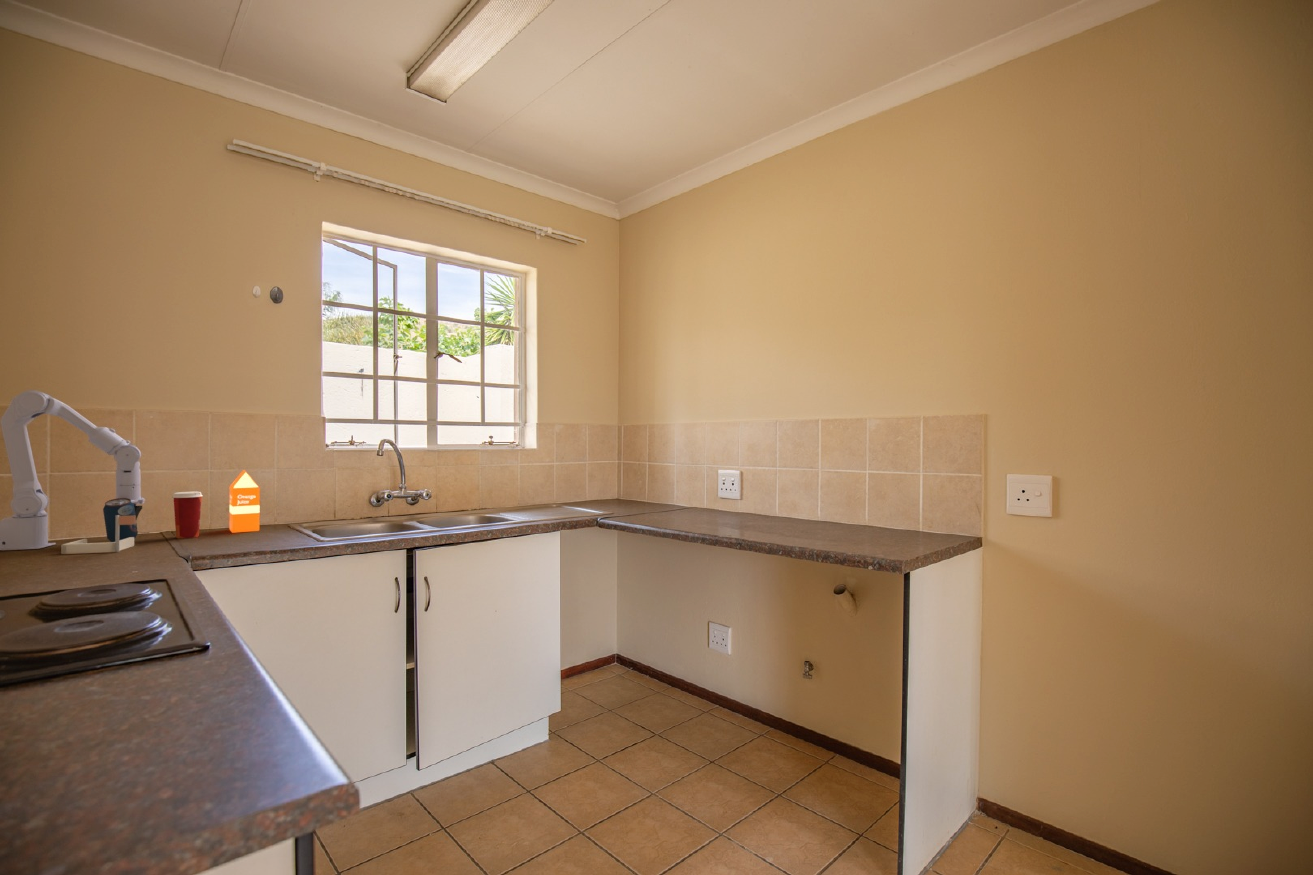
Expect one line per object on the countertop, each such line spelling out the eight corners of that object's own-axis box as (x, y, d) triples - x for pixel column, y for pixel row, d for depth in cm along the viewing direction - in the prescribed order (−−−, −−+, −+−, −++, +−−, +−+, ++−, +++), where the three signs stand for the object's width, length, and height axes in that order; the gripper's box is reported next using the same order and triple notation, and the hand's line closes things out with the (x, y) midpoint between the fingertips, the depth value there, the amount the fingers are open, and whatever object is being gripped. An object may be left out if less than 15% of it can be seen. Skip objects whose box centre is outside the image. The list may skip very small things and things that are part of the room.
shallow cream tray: (58, 554, 166) (59, 517, 166) (82, 547, 176) (83, 512, 176) (134, 551, 171) (134, 515, 171) (153, 544, 181) (153, 510, 181)
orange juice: (256, 527, 216) (256, 469, 216) (259, 530, 210) (260, 470, 210) (228, 529, 212) (228, 470, 211) (231, 532, 205) (231, 471, 205)
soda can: (140, 540, 186) (135, 502, 182) (109, 546, 181) (104, 507, 177) (135, 532, 190) (130, 495, 187) (105, 538, 185) (100, 500, 182)
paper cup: (208, 535, 199) (209, 491, 199) (188, 539, 191) (188, 493, 191) (186, 534, 200) (186, 491, 200) (165, 538, 192) (165, 493, 192)
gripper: (132, 486, 183) (133, 533, 183) (155, 482, 196) (155, 526, 196) (103, 487, 180) (103, 534, 181) (128, 483, 194) (128, 527, 194)
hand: (129, 530), depth 188 cm, fingers closed, pressing on soda can
